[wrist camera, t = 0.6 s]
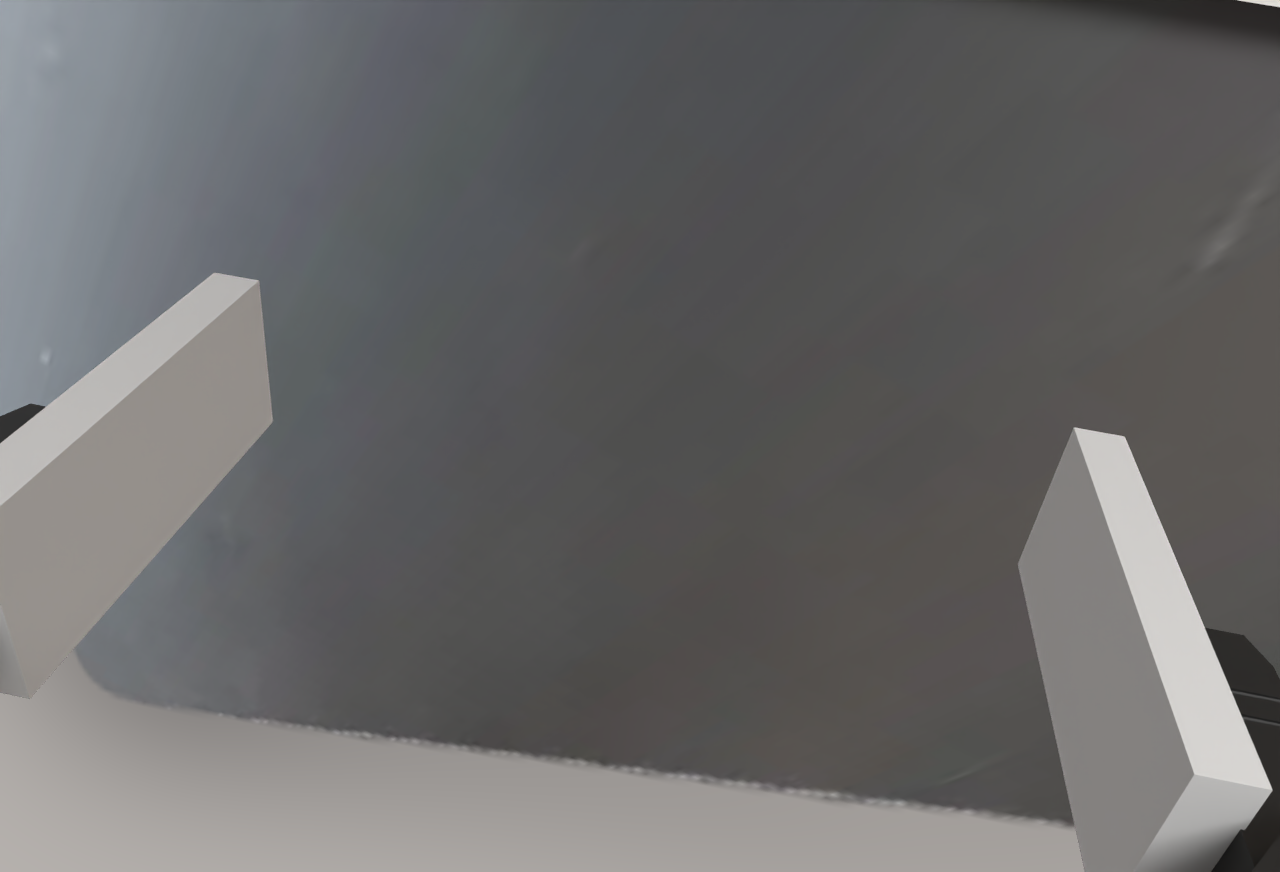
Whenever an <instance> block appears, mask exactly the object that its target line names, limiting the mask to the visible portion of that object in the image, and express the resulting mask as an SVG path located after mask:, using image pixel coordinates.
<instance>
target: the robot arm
mask: <svg viewBox="0 0 1280 872" xmlns="http://www.w3.org/2000/svg"><path fill="white" fill-rule="evenodd" d="M272 422H273V417H272V407H271V397H270V386H269V376H268V366H267V356H266V346H265V336H264V326H263V316H262V306H261V295H260V285H259V281H258V280H253V279H247V278H242V277H236V276H231V275H225V274H220V273H213V274H212V275H211V276H210V277H208V278H207V279H206V280H204V281H203V282H202V283H201V284H199V285H198V286H197V287H196V288H194V289H193V290H192V291H191V292H189V293H188V294H187V295H186V296H184V297H183V298H182V299H181V300H179V301H178V302H177V303H176V304H174V305H173V306H172V307H171V308H169V309H168V310H167V311H166V312H164V313H163V314H162V315H161V316H159V317H158V318H157V319H156V320H154V321H153V322H152V323H151V324H149V325H148V326H147V327H146V328H144V329H143V330H142V331H141V332H139V333H138V334H137V335H136V336H134V337H133V338H132V339H131V340H129V341H128V342H127V343H126V344H124V345H123V346H122V347H120V348H119V349H118V350H117V351H115V352H114V353H113V354H112V355H110V356H109V357H108V358H107V359H105V360H104V361H103V362H102V363H100V364H99V365H98V366H97V367H95V368H94V369H93V370H92V371H90V372H89V373H88V374H87V375H85V376H84V377H83V378H82V379H80V380H79V381H78V382H77V383H75V384H74V385H73V386H72V387H70V388H69V389H68V390H67V391H65V392H64V393H63V394H62V395H60V396H59V397H58V398H57V399H55V400H54V401H53V402H52V403H50V404H49V405H48V406H47V407H45V406H40V405H35V404H28V405H26V406H24V407H21V408H19V409H17V410H14V411H12V412H10V413H7V414H5V415H2V416H0V693H5V694H10V695H14V696H19V697H23V698H28V699H30V698H31V697H32V696H33V695H34V694H35V692H36V691H37V690H38V689H39V688H40V687H41V685H43V683H44V682H45V681H46V680H47V679H48V678H49V677H50V675H51V674H52V673H53V672H54V671H55V670H56V669H57V667H58V666H59V665H60V664H61V663H62V662H63V661H64V659H65V658H66V657H67V656H68V655H69V654H70V653H71V651H72V650H73V649H74V648H75V647H76V646H77V645H78V644H79V642H80V641H81V640H82V639H83V638H84V637H85V636H86V634H87V633H88V632H89V631H90V630H91V629H92V628H93V626H94V625H95V624H96V623H97V622H98V621H99V620H100V618H101V617H102V616H103V615H104V614H105V613H106V612H107V610H108V609H109V608H110V607H111V606H112V605H113V604H114V602H115V601H116V600H117V599H118V598H119V597H120V596H121V594H122V593H123V592H124V591H125V590H126V589H127V588H128V587H129V585H130V584H131V583H132V582H133V581H134V580H135V579H136V577H137V576H138V575H139V574H140V573H141V572H142V571H143V569H144V568H145V567H146V566H147V565H148V564H149V563H150V561H151V560H152V559H153V558H154V557H155V556H156V555H157V553H158V552H159V551H160V550H161V549H162V548H163V547H164V545H165V544H166V543H167V542H168V541H169V540H170V539H171V537H172V536H173V535H174V534H175V533H176V532H177V531H178V530H179V528H180V527H181V526H182V525H183V524H184V523H185V522H186V520H187V519H188V518H189V517H190V516H191V515H192V514H193V512H194V511H195V510H196V509H197V508H198V507H199V506H200V504H201V503H202V502H203V501H204V500H205V499H206V498H207V496H208V495H209V494H210V493H211V492H212V491H213V490H214V488H215V487H216V486H217V485H218V484H219V483H220V482H221V480H222V479H223V478H224V477H225V476H226V475H227V474H228V473H229V471H230V470H231V469H232V468H233V467H234V466H235V465H236V463H237V462H238V461H239V460H240V459H241V458H242V457H243V455H244V454H245V453H246V452H247V451H248V450H249V449H250V447H251V446H252V445H253V444H254V443H255V442H256V441H257V439H258V438H259V437H260V436H261V435H262V434H263V433H264V431H265V430H266V429H267V428H268V427H269V426H270V425H271V423H272ZM1018 567H1019V571H1020V576H1021V581H1022V585H1023V590H1024V594H1025V599H1026V604H1027V608H1028V613H1029V617H1030V622H1031V627H1032V631H1033V636H1034V640H1035V645H1036V650H1037V654H1038V659H1039V663H1040V668H1041V673H1042V677H1043V682H1044V686H1045V691H1046V696H1047V700H1048V705H1049V709H1050V714H1051V719H1052V723H1053V728H1054V732H1055V737H1056V742H1057V746H1058V751H1059V755H1060V760H1061V765H1062V769H1063V774H1064V778H1065V783H1066V788H1067V792H1068V797H1069V801H1070V806H1071V811H1072V815H1073V820H1074V824H1075V829H1076V834H1077V838H1078V843H1079V847H1080V852H1081V856H1082V861H1083V866H1084V870H1085V872H1280V679H1279V677H1278V675H1277V673H1276V671H1275V669H1274V667H1273V666H1272V665H1271V664H1270V663H1269V662H1268V661H1267V660H1266V659H1265V657H1264V656H1263V655H1262V654H1261V653H1260V652H1259V651H1258V650H1257V649H1256V648H1255V647H1254V646H1253V645H1252V644H1251V643H1250V642H1249V641H1248V639H1247V638H1246V637H1245V636H1244V635H1239V634H1234V633H1229V632H1224V631H1219V630H1213V629H1208V628H1205V627H1204V625H1203V623H1202V620H1201V618H1200V615H1199V613H1198V611H1197V608H1196V606H1195V604H1194V601H1193V599H1192V596H1191V594H1190V592H1189V589H1188V587H1187V584H1186V582H1185V580H1184V577H1183V575H1182V573H1181V570H1180V568H1179V565H1178V563H1177V561H1176V558H1175V556H1174V553H1173V551H1172V549H1171V546H1170V544H1169V541H1168V539H1167V537H1166V534H1165V532H1164V530H1163V527H1162V525H1161V522H1160V520H1159V518H1158V515H1157V513H1156V510H1155V508H1154V506H1153V503H1152V501H1151V498H1150V496H1149V494H1148V491H1147V489H1146V487H1145V484H1144V482H1143V479H1142V477H1141V475H1140V472H1139V470H1138V467H1137V465H1136V463H1135V460H1134V458H1133V456H1132V453H1131V451H1130V448H1129V446H1128V444H1127V441H1126V439H1125V437H1124V436H1118V435H1113V434H1107V433H1102V432H1096V431H1091V430H1085V429H1080V428H1073V431H1072V433H1071V436H1070V438H1069V441H1068V443H1067V445H1066V448H1065V450H1064V453H1063V455H1062V458H1061V460H1060V463H1059V465H1058V467H1057V470H1056V472H1055V475H1054V477H1053V480H1052V482H1051V484H1050V487H1049V489H1048V492H1047V494H1046V497H1045V499H1044V502H1043V504H1042V506H1041V509H1040V511H1039V514H1038V516H1037V519H1036V521H1035V523H1034V526H1033V528H1032V531H1031V533H1030V536H1029V538H1028V540H1027V543H1026V545H1025V548H1024V550H1023V553H1022V555H1021V558H1020V560H1019V562H1018Z"/></svg>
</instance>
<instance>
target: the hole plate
mask: <svg viewBox="0 0 1280 872" xmlns="http://www.w3.org/2000/svg"><path fill="white" fill-rule="evenodd" d="M1239 1H1245V2H1251V3H1257V4H1263V5H1270V6H1276V7H1280V0H1239Z"/></svg>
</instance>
